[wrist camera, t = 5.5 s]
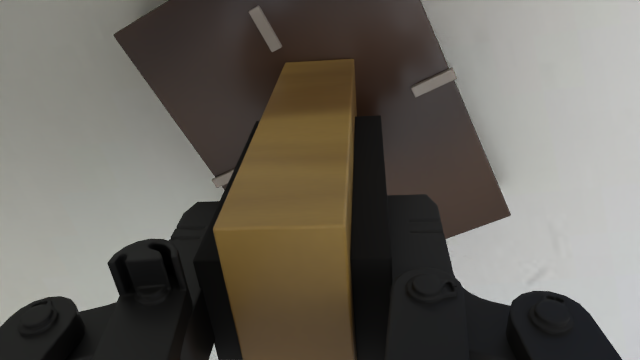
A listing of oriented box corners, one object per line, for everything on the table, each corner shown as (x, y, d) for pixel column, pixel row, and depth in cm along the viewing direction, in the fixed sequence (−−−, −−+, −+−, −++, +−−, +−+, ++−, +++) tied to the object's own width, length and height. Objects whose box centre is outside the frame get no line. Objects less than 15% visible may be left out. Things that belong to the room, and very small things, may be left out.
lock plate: (134, 21, 18) (107, 37, 16) (370, -124, 15) (371, -125, 13) (300, 262, 23) (295, 296, 21) (501, 186, 20) (515, 217, 18)
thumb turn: (284, 62, 16) (207, 237, 8) (354, 58, 16) (345, 234, 8) (300, 195, 18) (253, 430, 10) (360, 193, 18) (359, 432, 10)
